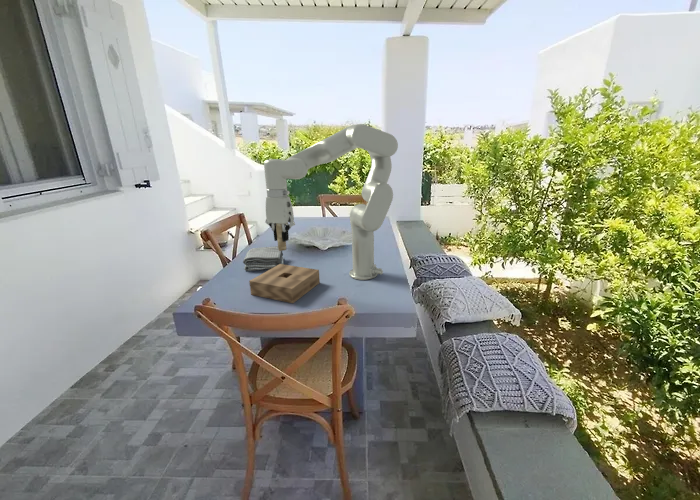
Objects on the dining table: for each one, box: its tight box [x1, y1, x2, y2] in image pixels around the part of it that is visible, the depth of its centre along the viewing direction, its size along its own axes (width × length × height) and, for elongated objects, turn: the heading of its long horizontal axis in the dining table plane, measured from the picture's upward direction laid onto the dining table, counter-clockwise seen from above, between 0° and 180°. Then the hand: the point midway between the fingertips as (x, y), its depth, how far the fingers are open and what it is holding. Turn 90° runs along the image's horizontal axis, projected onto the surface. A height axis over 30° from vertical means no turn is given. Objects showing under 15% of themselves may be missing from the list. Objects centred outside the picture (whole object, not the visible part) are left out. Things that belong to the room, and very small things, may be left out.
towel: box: [242, 245, 284, 272], centre depth 159 cm, size 15×18×8 cm
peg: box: [276, 224, 287, 252], centre depth 126 cm, size 3×3×11 cm
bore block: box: [248, 263, 321, 304], centre depth 132 cm, size 20×20×6 cm
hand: (281, 240), depth 127 cm, fingers closed on peg, 3 cm apart
